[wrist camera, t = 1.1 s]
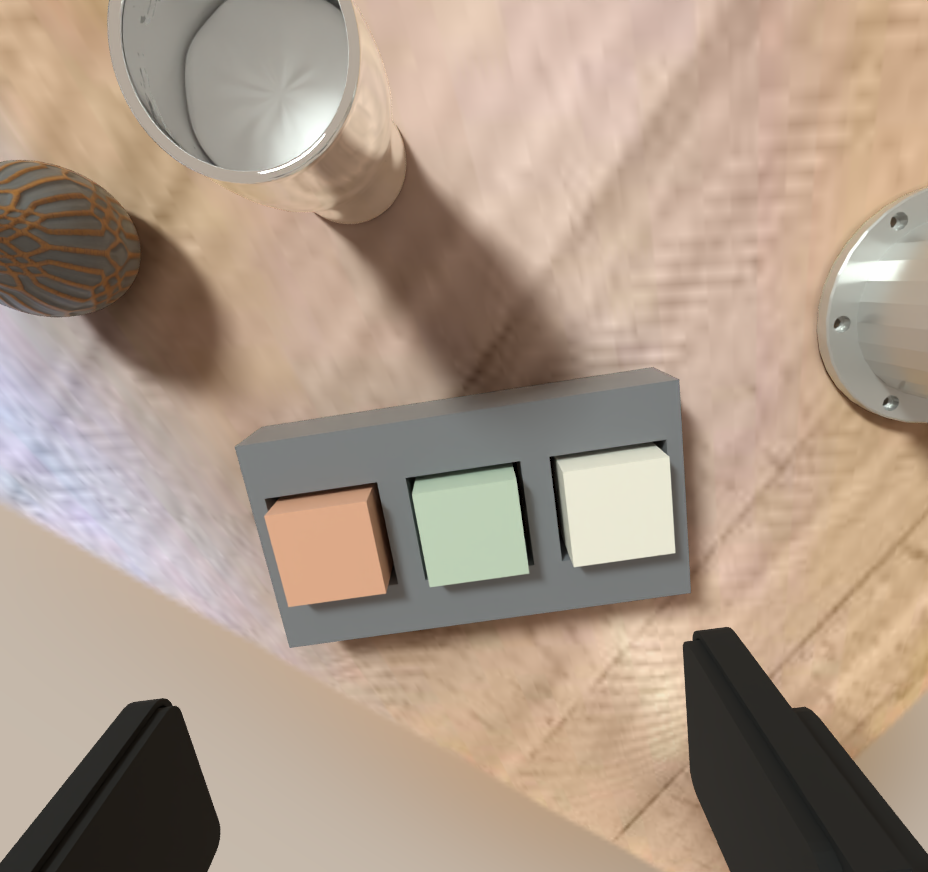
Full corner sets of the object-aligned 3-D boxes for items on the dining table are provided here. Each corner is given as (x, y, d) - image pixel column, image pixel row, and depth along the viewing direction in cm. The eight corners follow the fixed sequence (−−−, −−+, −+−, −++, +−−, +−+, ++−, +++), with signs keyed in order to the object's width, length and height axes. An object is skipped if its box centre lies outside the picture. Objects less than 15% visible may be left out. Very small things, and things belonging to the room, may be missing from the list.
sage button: (509, 454, 32) (516, 479, 28) (521, 539, 33) (529, 573, 29) (418, 468, 32) (412, 494, 28) (433, 551, 33) (429, 587, 30)
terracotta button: (377, 474, 32) (366, 501, 28) (395, 557, 33) (386, 593, 30) (287, 488, 32) (263, 516, 28) (308, 569, 34) (288, 607, 30)
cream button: (644, 435, 32) (669, 456, 28) (650, 520, 33) (675, 553, 29) (550, 448, 32) (562, 472, 28) (560, 533, 33) (573, 567, 29)
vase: (162, 320, 31) (51, 336, 23) (34, 302, 31) (-126, 312, 23) (162, 186, 30) (41, 150, 21) (26, 166, 29) (-151, 121, 21)
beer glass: (283, 74, 28) (93, -142, 14) (423, 97, 28) (382, -91, 14) (275, 223, 30) (100, 170, 16) (406, 242, 30) (355, 209, 16)
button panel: (653, 367, 32) (679, 379, 28) (665, 558, 35) (690, 592, 31) (261, 426, 33) (234, 446, 29) (308, 608, 36) (289, 647, 32)
